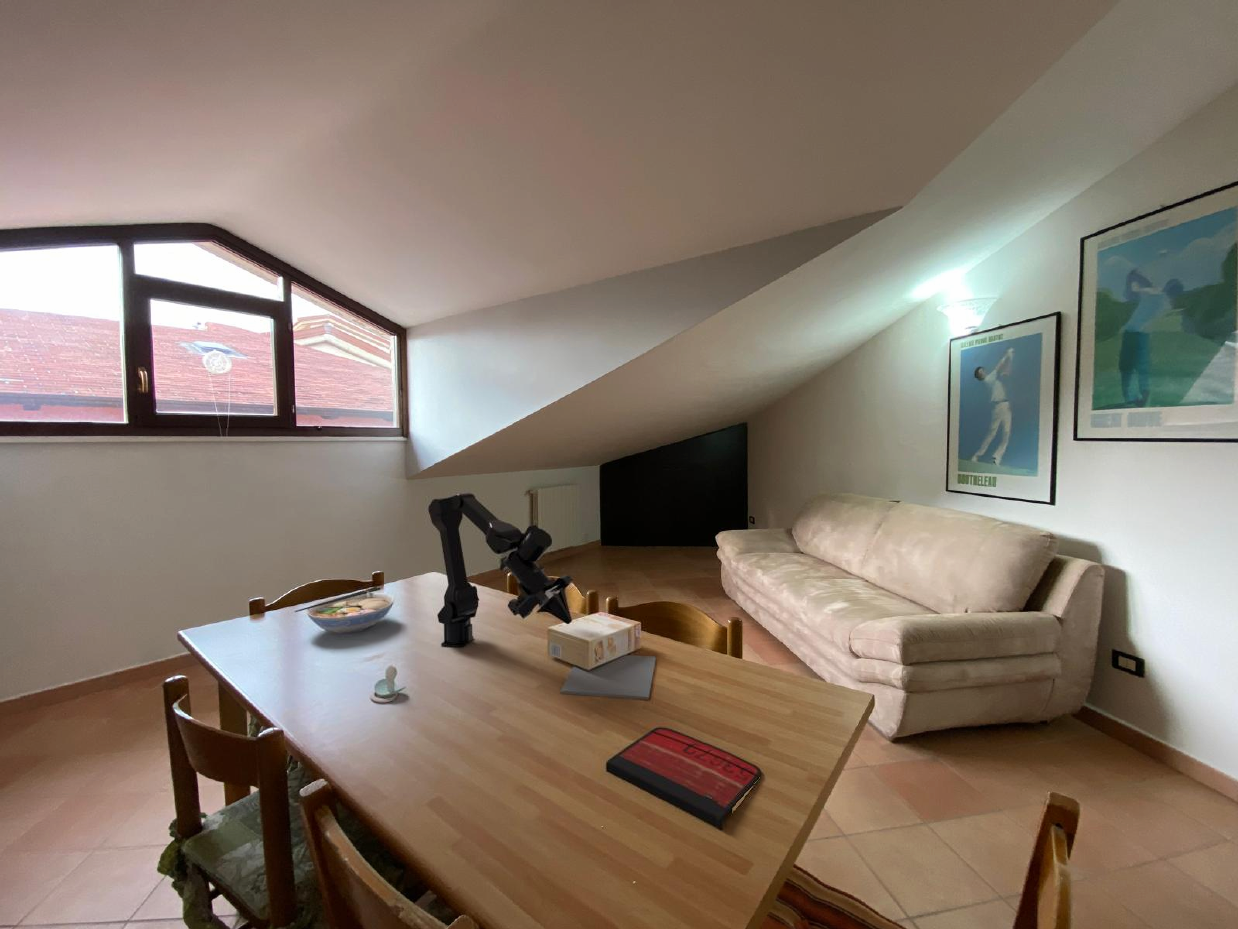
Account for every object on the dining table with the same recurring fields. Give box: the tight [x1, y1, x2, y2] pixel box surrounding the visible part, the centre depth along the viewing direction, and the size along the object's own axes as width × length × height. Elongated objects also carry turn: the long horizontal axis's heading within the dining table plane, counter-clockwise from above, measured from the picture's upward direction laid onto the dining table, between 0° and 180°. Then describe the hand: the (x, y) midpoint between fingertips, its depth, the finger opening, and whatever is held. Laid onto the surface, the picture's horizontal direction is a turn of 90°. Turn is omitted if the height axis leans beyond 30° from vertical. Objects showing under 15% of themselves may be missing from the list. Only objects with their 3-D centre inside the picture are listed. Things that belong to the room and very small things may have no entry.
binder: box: [605, 726, 762, 831], centre depth 83 cm, size 16×2×21 cm
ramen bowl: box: [293, 586, 395, 634], centre depth 146 cm, size 25×23×8 cm
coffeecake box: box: [546, 611, 642, 670], centre depth 129 cm, size 15×7×20 cm
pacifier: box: [369, 665, 407, 704], centre depth 107 cm, size 7×6×6 cm
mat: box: [560, 654, 657, 701], centre depth 117 cm, size 19×20×1 cm
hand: (570, 622), depth 117 cm, fingers closed
